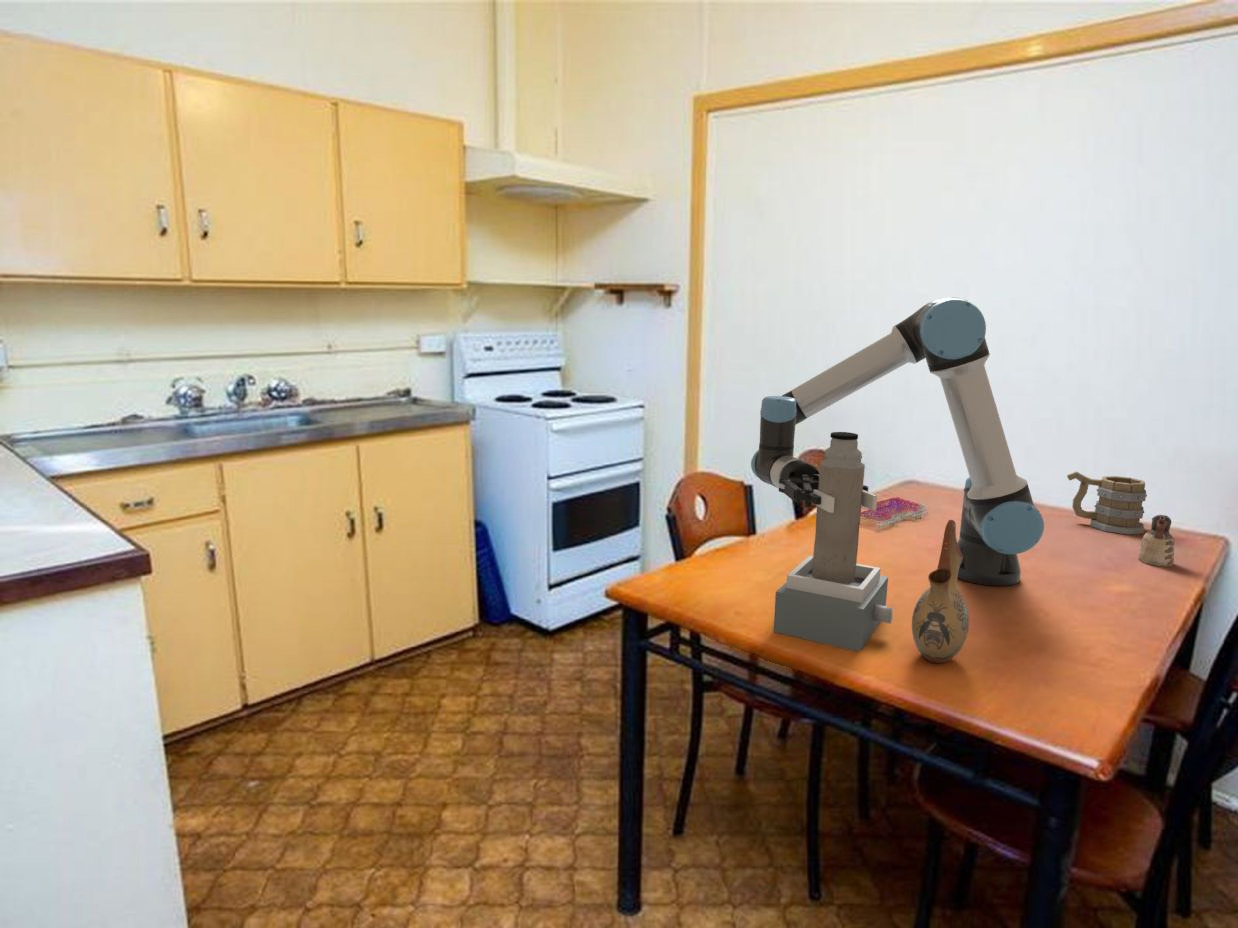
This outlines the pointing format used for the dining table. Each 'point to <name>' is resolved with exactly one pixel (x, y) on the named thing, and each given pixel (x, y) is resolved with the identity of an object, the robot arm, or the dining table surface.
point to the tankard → (1113, 503)
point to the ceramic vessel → (942, 606)
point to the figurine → (1158, 543)
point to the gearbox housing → (832, 607)
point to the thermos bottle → (839, 510)
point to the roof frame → (889, 513)
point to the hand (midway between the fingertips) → (853, 504)
